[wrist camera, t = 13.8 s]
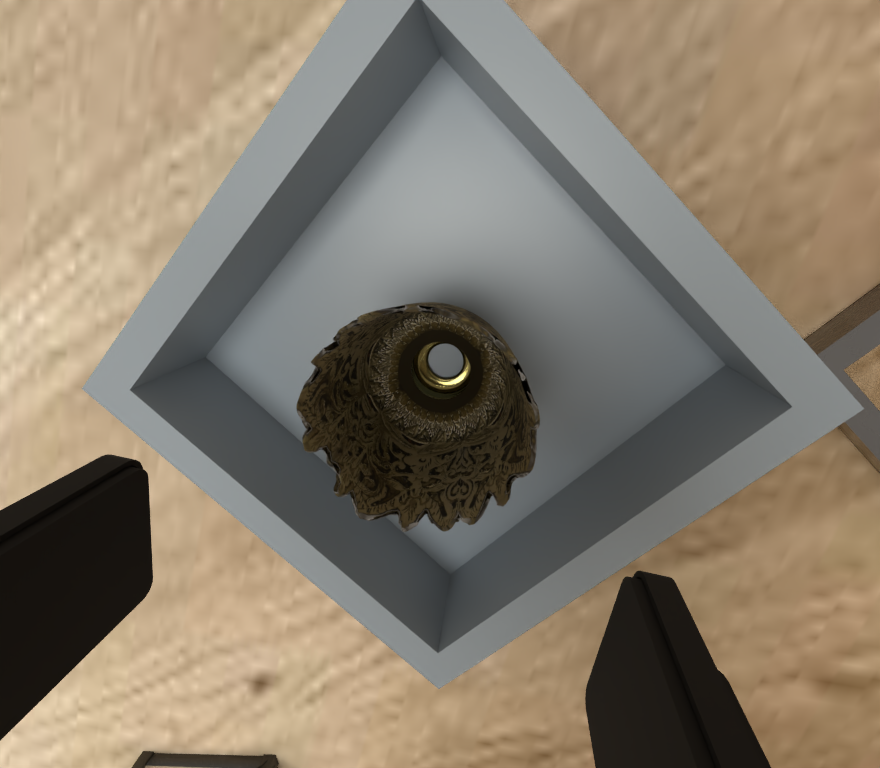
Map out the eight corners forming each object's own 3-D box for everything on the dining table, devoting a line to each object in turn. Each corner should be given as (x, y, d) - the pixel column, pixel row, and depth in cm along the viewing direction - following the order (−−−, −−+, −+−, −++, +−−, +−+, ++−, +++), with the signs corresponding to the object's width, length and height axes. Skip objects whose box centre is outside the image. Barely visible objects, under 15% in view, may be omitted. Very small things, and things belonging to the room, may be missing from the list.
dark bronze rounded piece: (340, 317, 22) (252, 365, 14) (488, 249, 20) (477, 263, 12) (409, 454, 24) (363, 561, 16) (551, 403, 22) (575, 496, 14)
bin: (767, 359, 21) (864, 408, 15) (453, 592, 27) (438, 688, 21) (443, 1, 18) (415, -101, 13) (179, 351, 25) (81, 388, 19)
